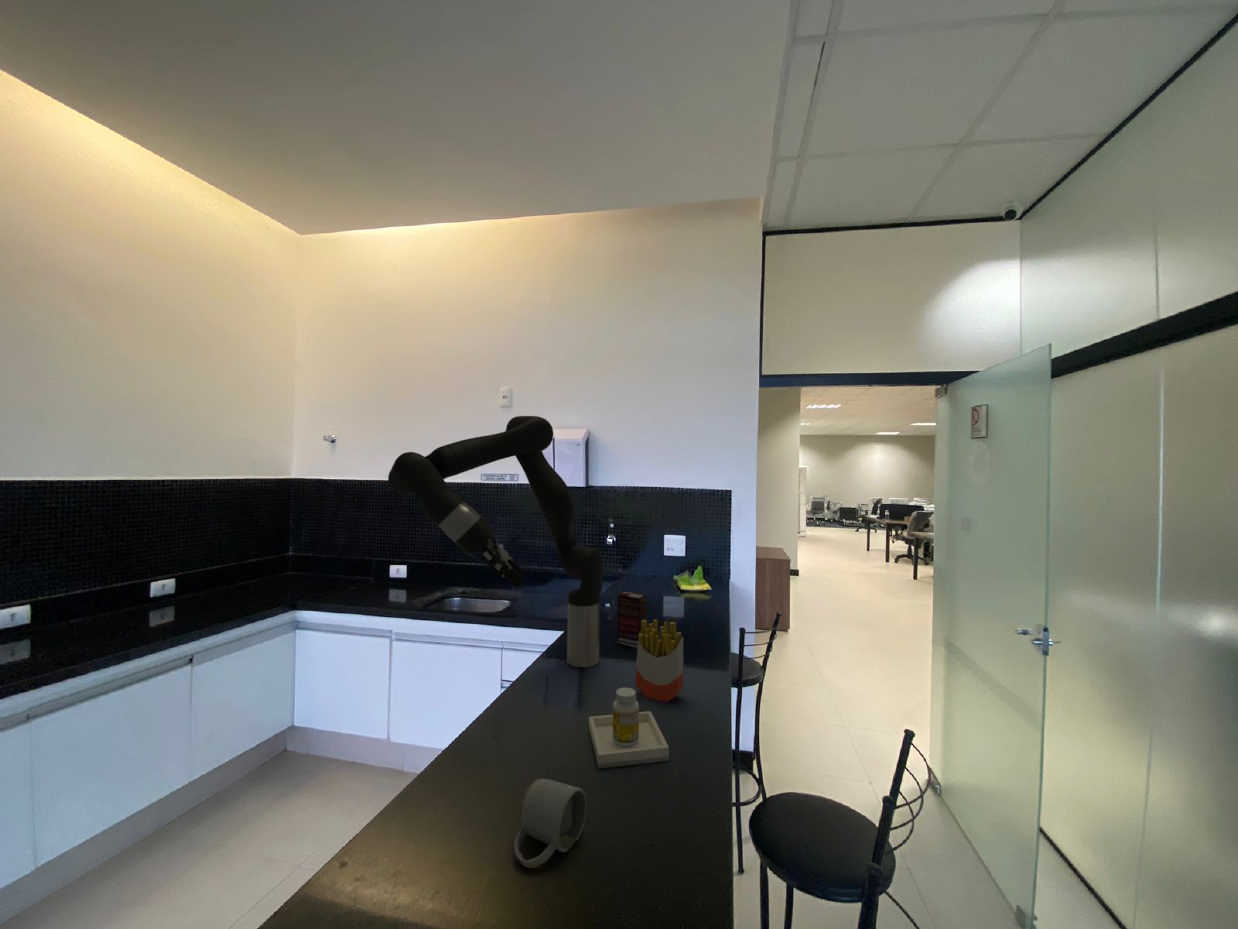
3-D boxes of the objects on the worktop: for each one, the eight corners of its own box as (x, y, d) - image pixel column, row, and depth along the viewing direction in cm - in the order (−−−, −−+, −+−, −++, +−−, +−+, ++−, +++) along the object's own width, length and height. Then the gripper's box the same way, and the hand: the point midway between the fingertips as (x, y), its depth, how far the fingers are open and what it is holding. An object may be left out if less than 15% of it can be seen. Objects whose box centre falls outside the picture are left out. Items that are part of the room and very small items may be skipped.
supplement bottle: (639, 747, 91) (639, 698, 91) (612, 747, 91) (612, 698, 91) (638, 732, 97) (638, 686, 97) (612, 731, 97) (613, 685, 97)
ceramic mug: (544, 810, 75) (544, 763, 75) (588, 828, 71) (587, 779, 71) (500, 860, 66) (499, 806, 66) (546, 884, 62) (546, 826, 62)
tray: (589, 728, 99) (589, 717, 99) (650, 722, 102) (650, 711, 102) (598, 768, 86) (598, 755, 86) (668, 760, 88) (668, 747, 89)
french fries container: (677, 705, 109) (677, 629, 110) (635, 696, 114) (635, 622, 114) (683, 697, 114) (683, 623, 114) (641, 688, 118) (642, 617, 118)
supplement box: (647, 644, 148) (647, 594, 148) (639, 649, 144) (640, 598, 144) (624, 639, 153) (624, 590, 153) (616, 643, 149) (616, 594, 149)
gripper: (476, 519, 92) (534, 574, 95) (482, 512, 106) (532, 561, 108) (448, 546, 91) (507, 601, 93) (458, 536, 105) (509, 584, 107)
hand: (521, 579), depth 101 cm, fingers open, 8 cm apart
